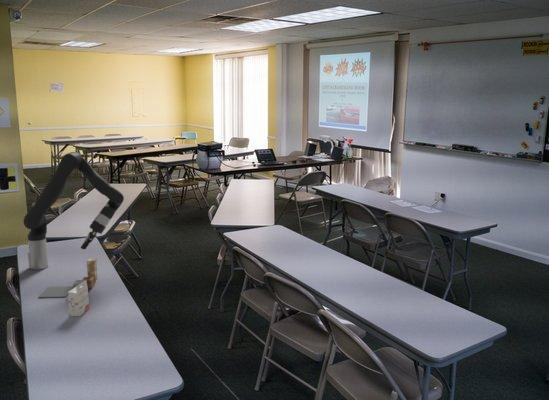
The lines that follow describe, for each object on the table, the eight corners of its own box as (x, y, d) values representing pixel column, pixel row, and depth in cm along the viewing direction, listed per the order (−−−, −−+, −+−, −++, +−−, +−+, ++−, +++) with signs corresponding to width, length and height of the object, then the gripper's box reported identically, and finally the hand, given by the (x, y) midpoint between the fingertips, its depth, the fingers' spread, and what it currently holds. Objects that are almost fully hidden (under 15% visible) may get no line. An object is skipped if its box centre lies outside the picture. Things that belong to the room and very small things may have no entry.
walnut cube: (82, 289, 248) (81, 280, 247) (84, 285, 253) (84, 276, 252) (91, 289, 249) (91, 280, 248) (94, 285, 254) (93, 276, 253)
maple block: (88, 282, 258) (86, 261, 255) (90, 279, 262) (88, 258, 259) (95, 282, 258) (94, 261, 256) (97, 279, 262) (96, 258, 259)
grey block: (73, 295, 241) (73, 283, 240) (76, 291, 246) (76, 280, 245) (84, 294, 242) (83, 283, 241) (86, 290, 247) (86, 280, 245)
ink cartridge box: (80, 308, 227) (78, 278, 224) (89, 309, 226) (87, 279, 223) (69, 315, 219) (66, 285, 216) (78, 317, 218) (76, 286, 215)
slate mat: (38, 298, 237) (38, 296, 237) (47, 287, 249) (47, 286, 249) (65, 297, 238) (65, 296, 238) (73, 287, 251) (73, 286, 251)
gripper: (92, 220, 269) (75, 245, 264) (95, 218, 256) (77, 244, 251) (104, 227, 271) (87, 252, 266) (107, 226, 258) (90, 252, 253)
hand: (82, 248), depth 258 cm, fingers open, 8 cm apart
